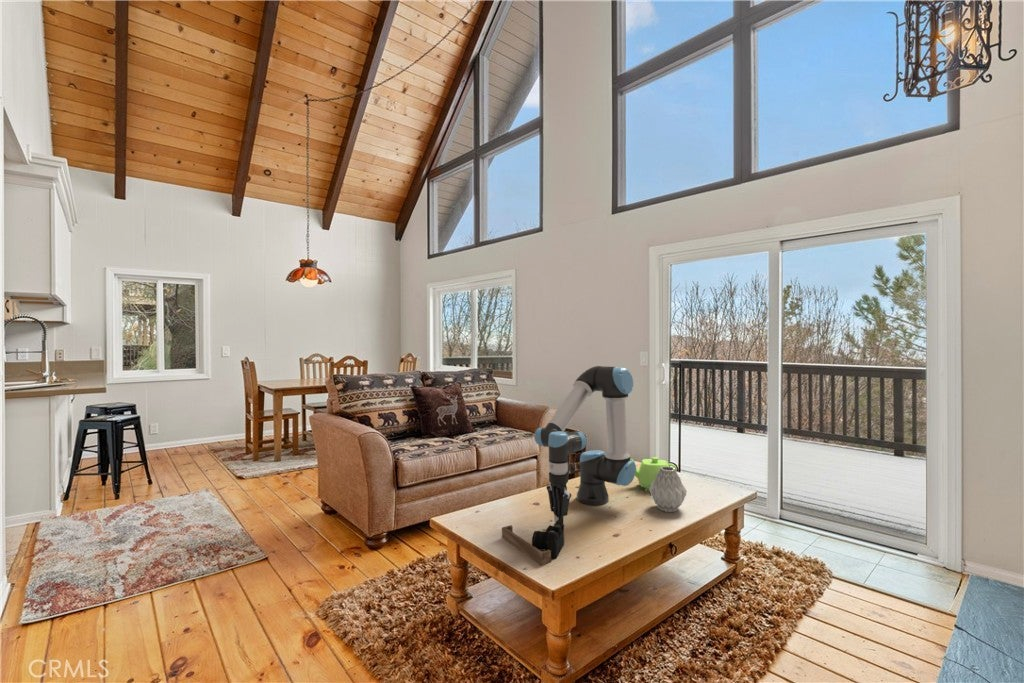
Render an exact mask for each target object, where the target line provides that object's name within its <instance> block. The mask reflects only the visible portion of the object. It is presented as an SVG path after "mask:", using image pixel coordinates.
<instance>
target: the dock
mask: <svg viewBox="0 0 1024 683" xmlns="http://www.w3.org/2000/svg"><path fill="white" fill-rule="evenodd" d="M513 530H514V529H513V525H511V524H510V525H507V526H503V527H501V538H502V539H503V540H505V541H506V542H508V543H509V544H510V545H512V547H513V546H514V547H515V548H516V549H518V550H519V551H520V552H522V553H523V554H524V555H526V556H527V557H529V558H530V559H532V560H533V561H535V562H536V563H537V564H538V565H540V566H544V565H545V564H546V565H547V564H549V563H551V562H552V559H551V550H540V549H537V548H536V547H534V546H533V545H532V543H530V542H528V541H526V540H525V539H524V538H522V537H521V536H520V535H518V534H516V533H514V532H513Z"/></svg>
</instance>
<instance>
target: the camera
mask: <svg viewBox="0 0 1024 683" xmlns="http://www.w3.org/2000/svg"><path fill="white" fill-rule="evenodd" d="M563 522H564V520H563V521H561V520H558V521H556V523H555V522H554V524H553V525H551V524H549V525H548V526H547V528H546V529H545V531H544V530H543V531H541V530H535V531H533V534H532V537H531V545H533V546H534V547H536V548H537V549H539V550H540V551H545V550H551V560H555V559H557V558H558V556H559V554H560V553H561V551H562V550H563V547H564V546H565V524H564V523H563Z"/></svg>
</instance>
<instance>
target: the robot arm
mask: <svg viewBox="0 0 1024 683" xmlns="http://www.w3.org/2000/svg"><path fill="white" fill-rule="evenodd" d="M572 385H573V386H572V387H573V388H572V389H571V390H570V392H569V393H568V395H567V396H566V398H565V399H564V400H563V402H562V403H561V404H560V406H559V407H558V409H557V410H556V411H555V413H554V414H553V416H551V419H550V420H549V421H548V423H547V424H546V425H545V427H543V426H542V427H538V428H536V430H535V432H534V436H533V437H534V438H533V439H534V441H535V444H537V445H538V446H541V447H545V448H546V447H547V448H548V482H549V483H550V484H549V485H546V490H547V494H548V500H549V507H550V511H551V512H553V514H554V524H555V523H556V521H558V520H561V521H563V524H564V523H565V522H564V517H566V516H568V512H569V506H570V501H571V497H572V493H571V492H568V486H567V483H568V482H569V455H570V454H573V453H576V452H579V451H581V450H583V449H585V448H586V447H587V444H588V439H587V437H586V435H585V433H584V432H582V431H573V432H568V431H565V430H566V428H567V427H568V426H569V425H570V423H571V421H572V420H573V418H575V416H576V414H577V412H578V411H579V410H580V408H581V407H582V405H583V403H584V402H585V401H586V399H587V398H589V397H591V396H592V394H594V392H601V395H602V396H601V397H602V398H603V399H604V400H605V416H606V418H605V419H606V441H607V444H606V445H607V446H606V447H607V450H606V452H605V451H604V450H599V449H597V450H595V449H593V450H587V451H584V452H582V453H581V454H580V455H579V456H580V457H579V468H580V469H579V476H580V478H579V480H580V481H579V487H578V491H577V492H576V500H577V501H578V502H579V503H581V504H584V505H589V506H601V505H604V504H607V503H608V502H609V500H610V498H609V493H608V489H607V487H606V483H610V484H614V485H617V486H622V487H626V486H627V487H628V486H629V485H630V484H631V483H632V482H633V481H634V479H635V477H636V476H635V473H636V468H637V466H636V465H637V464H636V462H635V461H634V462H635V463H634V462H633V461H631V460H630V459H631V454H630V453H629V452H628V447H627V425H626V424H627V423H626V422H627V420H626V399H628V398H629V394H630V393H632V391H633V388H634V378H633V374H632V373H631V372H630V370H629V369H627V368H625V367H619V366H601V365H596V366H591V367H589V368H588V369H586V370H584V371H583V372H582V373H581V374H580V375H579V376H578V377H577V378H576V379H575V381H574V382H573V384H572Z"/></svg>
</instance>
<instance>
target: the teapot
mask: <svg viewBox="0 0 1024 683" xmlns="http://www.w3.org/2000/svg"><path fill="white" fill-rule="evenodd" d="M630 460H631V461H633V462H634V463H635V464H636V462H635V460H634V459H633V458H630ZM661 467H672V468H674V469H675V471H676V472H677V470H678V468H677V466H676V464H674V463H668V461H667V460H664V459H659V457H657V456H652V457H651V458H644V459H642V461H641V463H640V466H639V469H638V468H637V467H636V473H635V476H634V477H635V478H637V481H638V483H639V484H640V486H641V487H642V488H644V491H645V492H650V490H649V487H650V486H651V484H652V482H653V481H654V479H655V476H656V474H657V473H658V472H659V470H660V468H661ZM677 473H678V472H677Z"/></svg>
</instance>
